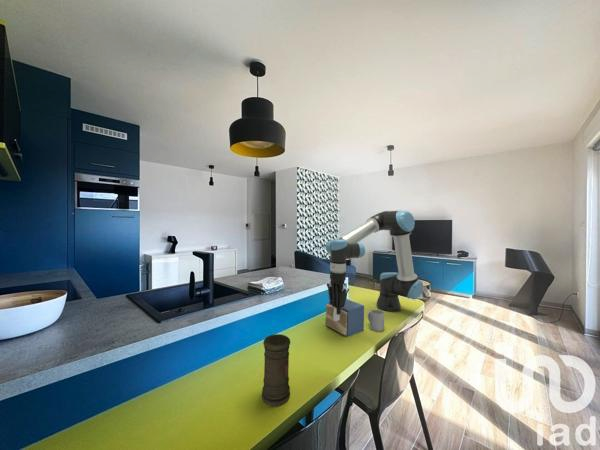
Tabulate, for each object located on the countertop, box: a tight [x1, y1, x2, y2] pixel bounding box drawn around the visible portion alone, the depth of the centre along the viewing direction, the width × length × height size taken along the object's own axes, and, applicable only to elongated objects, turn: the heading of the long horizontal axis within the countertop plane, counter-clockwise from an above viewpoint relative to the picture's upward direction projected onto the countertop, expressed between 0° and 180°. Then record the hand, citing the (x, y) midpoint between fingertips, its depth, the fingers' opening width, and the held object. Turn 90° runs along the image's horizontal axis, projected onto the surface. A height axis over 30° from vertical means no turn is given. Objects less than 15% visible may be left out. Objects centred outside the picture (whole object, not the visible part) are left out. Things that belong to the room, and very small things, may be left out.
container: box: [261, 333, 291, 407], centre depth 77 cm, size 9×9×18 cm
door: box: [325, 303, 347, 336], centre depth 123 cm, size 1×15×11 cm, turn 35°
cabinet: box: [328, 298, 365, 337], centre depth 127 cm, size 12×14×13 cm
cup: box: [367, 308, 385, 333], centre depth 129 cm, size 7×10×9 cm
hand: (336, 320), depth 117 cm, fingers closed
